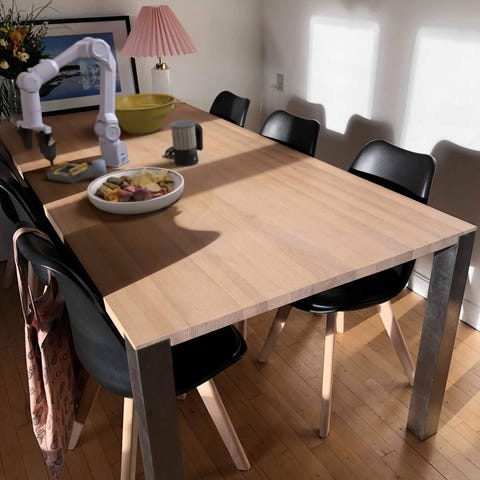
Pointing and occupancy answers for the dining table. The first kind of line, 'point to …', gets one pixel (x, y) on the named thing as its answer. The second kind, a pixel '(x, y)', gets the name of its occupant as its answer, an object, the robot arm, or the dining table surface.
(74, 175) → the grey square frame
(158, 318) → the dining table surface
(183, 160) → the milk frother
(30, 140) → the robot arm
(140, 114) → the planter bowl
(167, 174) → the bowl
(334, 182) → the dining table surface
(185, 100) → the dining table surface
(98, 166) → the blue-grey rounded cylinder
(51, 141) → the sundae
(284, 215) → the dining table surface
